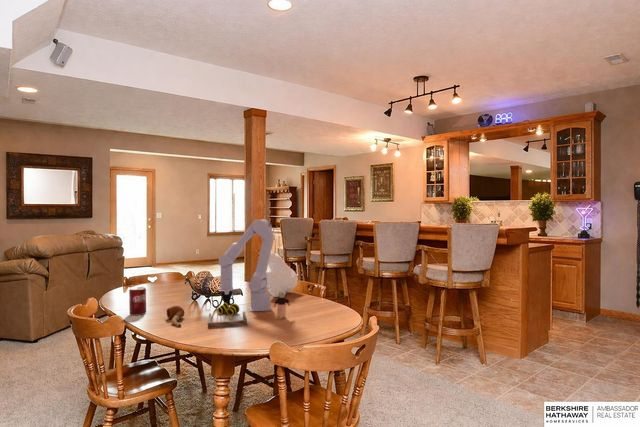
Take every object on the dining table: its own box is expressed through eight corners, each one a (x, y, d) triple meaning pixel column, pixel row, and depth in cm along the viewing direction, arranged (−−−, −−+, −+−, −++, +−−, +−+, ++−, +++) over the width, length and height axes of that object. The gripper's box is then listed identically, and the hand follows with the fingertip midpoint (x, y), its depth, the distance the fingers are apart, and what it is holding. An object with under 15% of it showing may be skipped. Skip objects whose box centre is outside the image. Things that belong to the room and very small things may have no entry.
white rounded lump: (283, 277, 260) (262, 248, 248) (304, 275, 251) (283, 244, 240) (266, 309, 241) (243, 279, 230) (288, 307, 233) (265, 275, 222)
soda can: (149, 312, 201) (149, 287, 201) (137, 316, 194) (136, 290, 194) (138, 311, 204) (138, 286, 204) (126, 314, 197) (125, 289, 197)
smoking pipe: (182, 316, 194) (182, 304, 194) (191, 325, 178) (191, 312, 178) (166, 318, 191) (166, 305, 191) (174, 328, 175) (174, 314, 175)
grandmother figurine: (275, 320, 186) (275, 291, 186) (272, 318, 189) (272, 290, 189) (291, 318, 189) (291, 289, 189) (288, 316, 193) (288, 288, 193)
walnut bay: (245, 315, 194) (245, 311, 194) (247, 325, 178) (247, 320, 178) (209, 318, 190) (209, 313, 190) (207, 327, 174) (207, 323, 174)
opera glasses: (217, 315, 199) (215, 305, 198) (224, 311, 203) (223, 301, 202) (233, 318, 194) (231, 307, 193) (240, 313, 198) (239, 303, 197)
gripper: (218, 277, 215) (218, 303, 215) (218, 281, 201) (218, 310, 201) (232, 276, 217) (232, 302, 217) (233, 281, 203) (233, 309, 203)
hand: (226, 306), depth 209 cm, fingers closed
